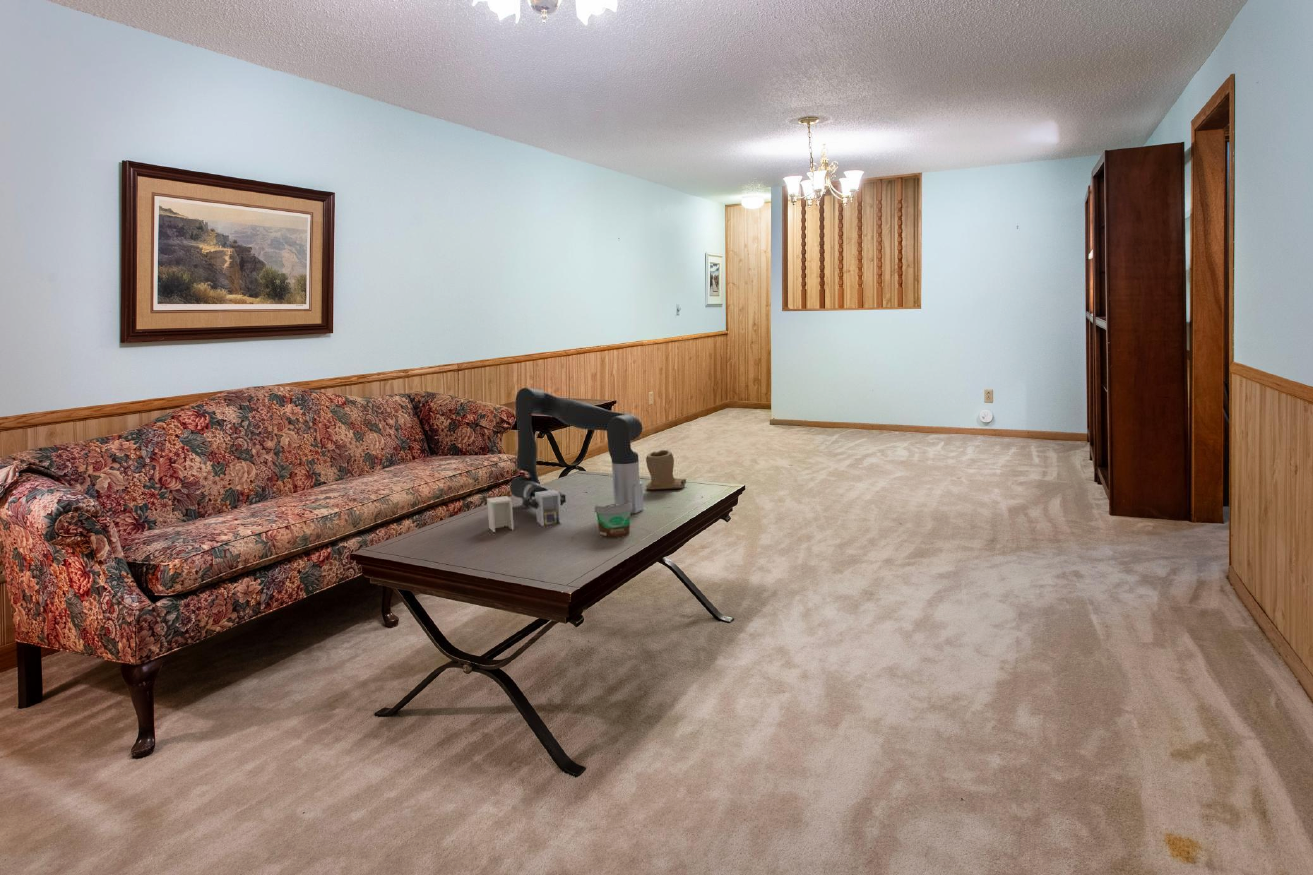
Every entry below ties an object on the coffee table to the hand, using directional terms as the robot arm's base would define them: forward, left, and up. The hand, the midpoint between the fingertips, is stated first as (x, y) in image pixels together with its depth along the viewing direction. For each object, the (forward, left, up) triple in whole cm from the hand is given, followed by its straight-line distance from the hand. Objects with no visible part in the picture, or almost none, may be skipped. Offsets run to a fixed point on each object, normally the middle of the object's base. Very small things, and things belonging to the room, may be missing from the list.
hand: (549, 504), depth 279 cm
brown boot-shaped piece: (-15, -58, -7) cm, 60 cm away
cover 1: (+12, +11, -7) cm, 17 cm away
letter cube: (+1, -1, -7) cm, 7 cm away
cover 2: (+1, -1, -7) cm, 7 cm away
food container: (-29, +8, -7) cm, 31 cm away
